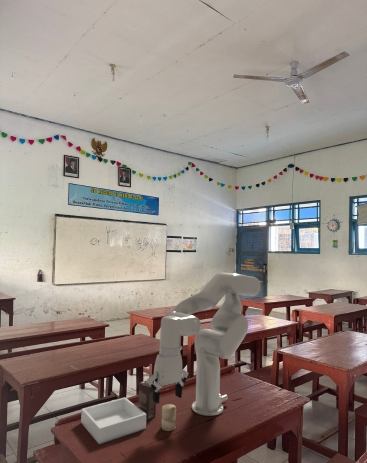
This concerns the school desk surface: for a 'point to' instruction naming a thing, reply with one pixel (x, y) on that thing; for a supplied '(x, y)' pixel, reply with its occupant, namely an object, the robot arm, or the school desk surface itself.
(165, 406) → the beige piece
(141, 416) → the tote
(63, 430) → the school desk surface
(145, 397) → the box
